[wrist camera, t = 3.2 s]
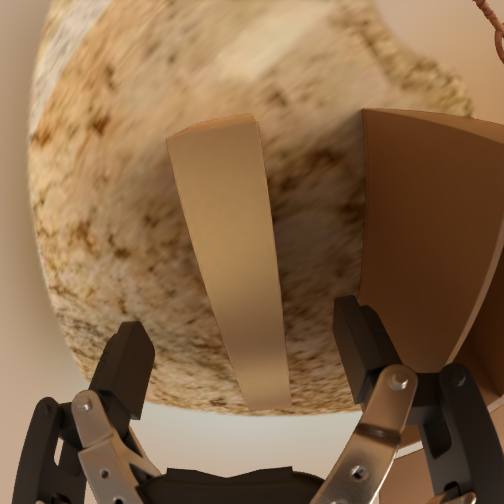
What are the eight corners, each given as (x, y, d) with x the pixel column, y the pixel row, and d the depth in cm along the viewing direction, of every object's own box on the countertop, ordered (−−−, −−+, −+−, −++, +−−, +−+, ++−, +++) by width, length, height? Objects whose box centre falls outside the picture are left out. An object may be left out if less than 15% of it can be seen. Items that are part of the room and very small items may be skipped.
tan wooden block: (196, 123, 11) (164, 138, 6) (252, 113, 10) (258, 120, 6) (247, 346, 18) (249, 411, 14) (283, 342, 18) (291, 407, 13)
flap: (504, 403, 11) (502, 404, 11) (377, 465, 12) (375, 465, 12) (510, 490, 5) (508, 490, 6) (381, 560, 6) (380, 559, 6)
